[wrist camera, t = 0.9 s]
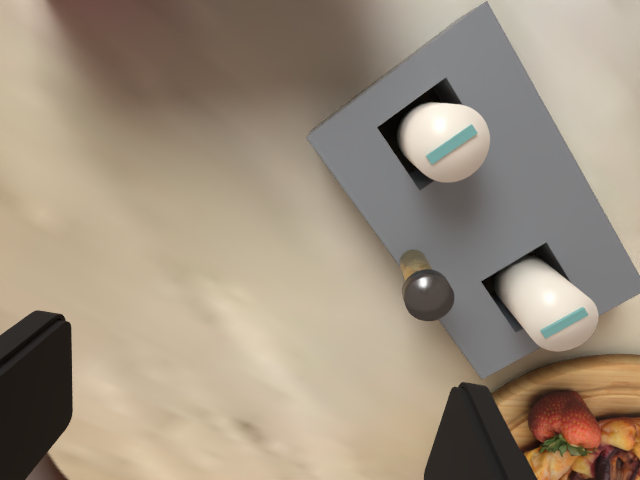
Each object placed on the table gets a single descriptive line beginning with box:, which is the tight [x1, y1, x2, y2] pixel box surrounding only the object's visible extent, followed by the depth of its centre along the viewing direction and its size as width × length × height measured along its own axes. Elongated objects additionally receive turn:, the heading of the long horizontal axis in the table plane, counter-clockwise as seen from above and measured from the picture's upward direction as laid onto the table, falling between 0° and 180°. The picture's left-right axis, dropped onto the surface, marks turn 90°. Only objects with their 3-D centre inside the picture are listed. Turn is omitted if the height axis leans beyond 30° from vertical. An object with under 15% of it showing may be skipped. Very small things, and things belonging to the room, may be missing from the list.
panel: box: [306, 1, 640, 379], centre depth 34 cm, size 14×24×6 cm, turn 36°
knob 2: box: [494, 255, 599, 351], centre depth 31 cm, size 4×4×7 cm
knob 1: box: [397, 102, 490, 183], centre depth 28 cm, size 4×4×7 cm
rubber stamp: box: [400, 250, 454, 321], centre depth 30 cm, size 3×3×6 cm
